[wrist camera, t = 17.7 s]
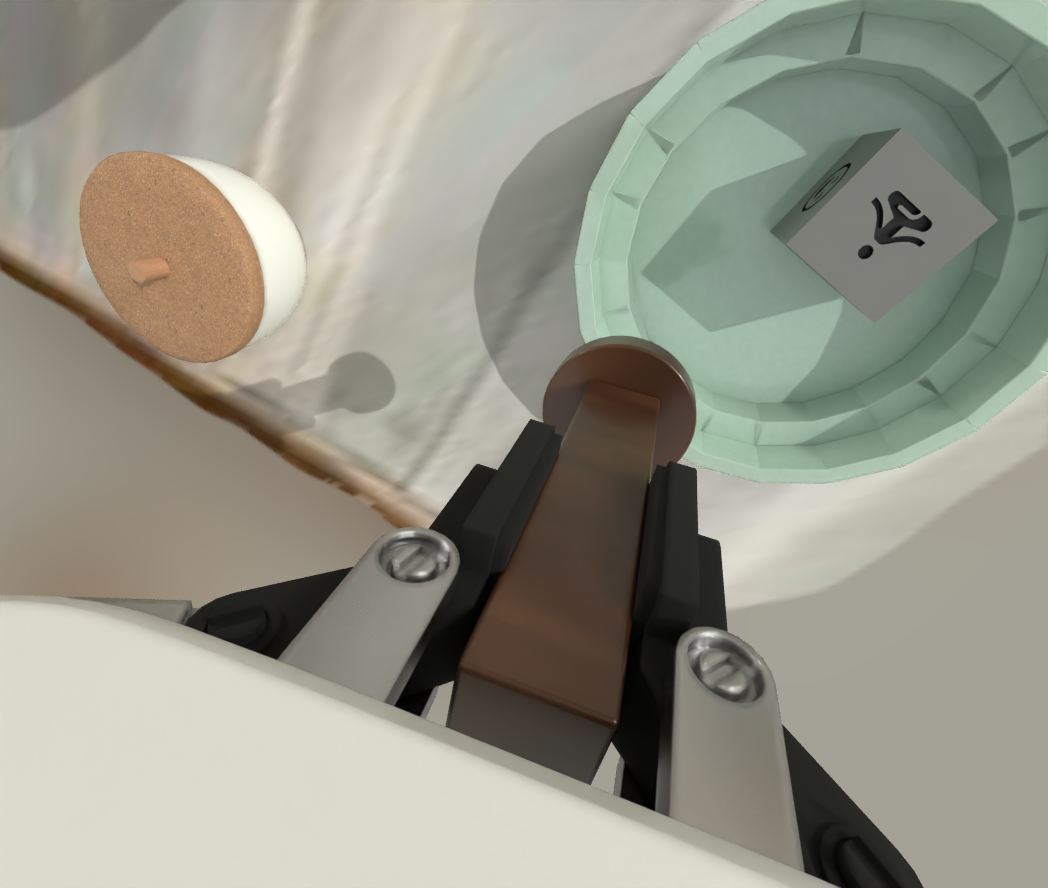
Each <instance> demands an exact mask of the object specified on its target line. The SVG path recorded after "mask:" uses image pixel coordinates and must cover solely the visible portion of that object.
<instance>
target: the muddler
mask: <svg viewBox="0 0 1048 888" xmlns="http://www.w3.org/2000/svg"><path fill="white" fill-rule="evenodd" d="M543 422H544V423H546V424H549V425H552V426H555V433H556V434H559V435H562V436H563V438H562V442H561V446H560V450H559V454H558V456H557V458H556V460H555V462H554V464H553V467H552V469H551V471H550V473H549V475H548V477H547V479H546V482H545V484H544V486H543V488H542V490H541V492H540V495H539V497H538V499H537V501H536V503H535V505H534V508H533V510H532V512H531V514H530V516H529V518H528V520H527V523H526V525H525V527H524V529H523V531H522V533H521V536H520V538H519V540H518V542H517V544H516V546H515V548H514V551H513V553H512V555H511V557H510V559H509V561H508V564H507V566H506V568H505V570H504V571H502V572H501V573H500V574H499V576H498V578H497V580H496V582H495V585H494V587H493V589H492V591H491V593H490V595H489V597H488V599H487V602H486V604H485V606H484V608H483V610H482V612H481V614H480V616H479V619H478V621H477V623H476V625H475V627H474V629H473V631H472V633H471V636H470V638H469V640H468V642H467V644H466V646H465V648H464V650H463V652H462V655H461V657H460V659H459V661H458V663H457V669H456V674H455V679H454V684H453V690H452V695H451V700H450V705H449V711H448V716H447V721H446V726H445V727H447V728H449V729H452V730H454V731H457V732H459V733H462V734H464V735H467V736H469V737H472V738H474V739H477V740H479V741H482V742H484V743H487V744H489V745H492V746H494V747H496V748H499V749H501V750H504V751H506V752H509V753H511V754H514V755H516V756H519V757H521V758H524V759H526V760H529V761H531V762H534V763H536V764H539V765H541V766H544V767H546V768H549V769H551V770H554V771H556V772H559V773H561V774H564V775H566V776H568V777H571V778H573V779H576V780H578V781H581V782H583V783H586V784H588V785H591V783H592V781H593V779H594V777H595V775H596V773H597V770H598V769H599V766H600V764H601V762H602V760H603V758H604V756H605V754H606V752H607V750H608V747H609V745H610V743H611V741H612V739H613V737H614V735H615V733H616V731H617V729H618V726H619V724H620V716H621V708H622V700H623V692H624V684H625V676H626V668H627V661H628V653H629V645H630V637H631V629H632V621H633V620H632V616H633V609H634V601H635V593H636V585H637V578H638V570H639V562H640V554H641V546H642V539H643V531H644V523H645V515H646V508H647V500H648V492H649V484H650V479H652V476H653V473H654V471H655V468H656V466H657V465H661V466H665V467H666V466H667V464H668V462H669V461H672V462H675V463H677V462H678V461H679V460H680V459H681V458H682V457H683V455H684V454H685V452H686V451H687V449H688V447H689V445H690V443H691V441H692V439H693V436H694V433H695V428H696V396H695V391H694V387H693V384H692V381H691V379H690V377H689V375H688V373H687V371H686V370H685V368H684V367H683V365H682V364H681V363H680V362H679V361H678V360H677V358H675V357H674V356H673V355H672V354H671V353H670V352H669V351H667V350H665V349H664V348H663V347H661V346H659V345H657V344H655V343H653V342H651V341H648V340H645V339H642V338H638V337H633V336H622V335H619V336H608V337H603V338H599V339H596V340H593V341H590V342H588V343H586V344H584V345H582V346H581V347H579V348H577V349H576V350H574V351H573V352H572V353H571V354H570V355H569V356H568V357H567V358H566V359H565V360H564V361H563V362H562V363H561V365H560V366H559V368H558V369H557V371H556V372H555V374H554V376H553V377H552V379H551V380H550V382H549V384H548V387H547V389H546V392H545V395H544V400H543Z"/></svg>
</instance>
